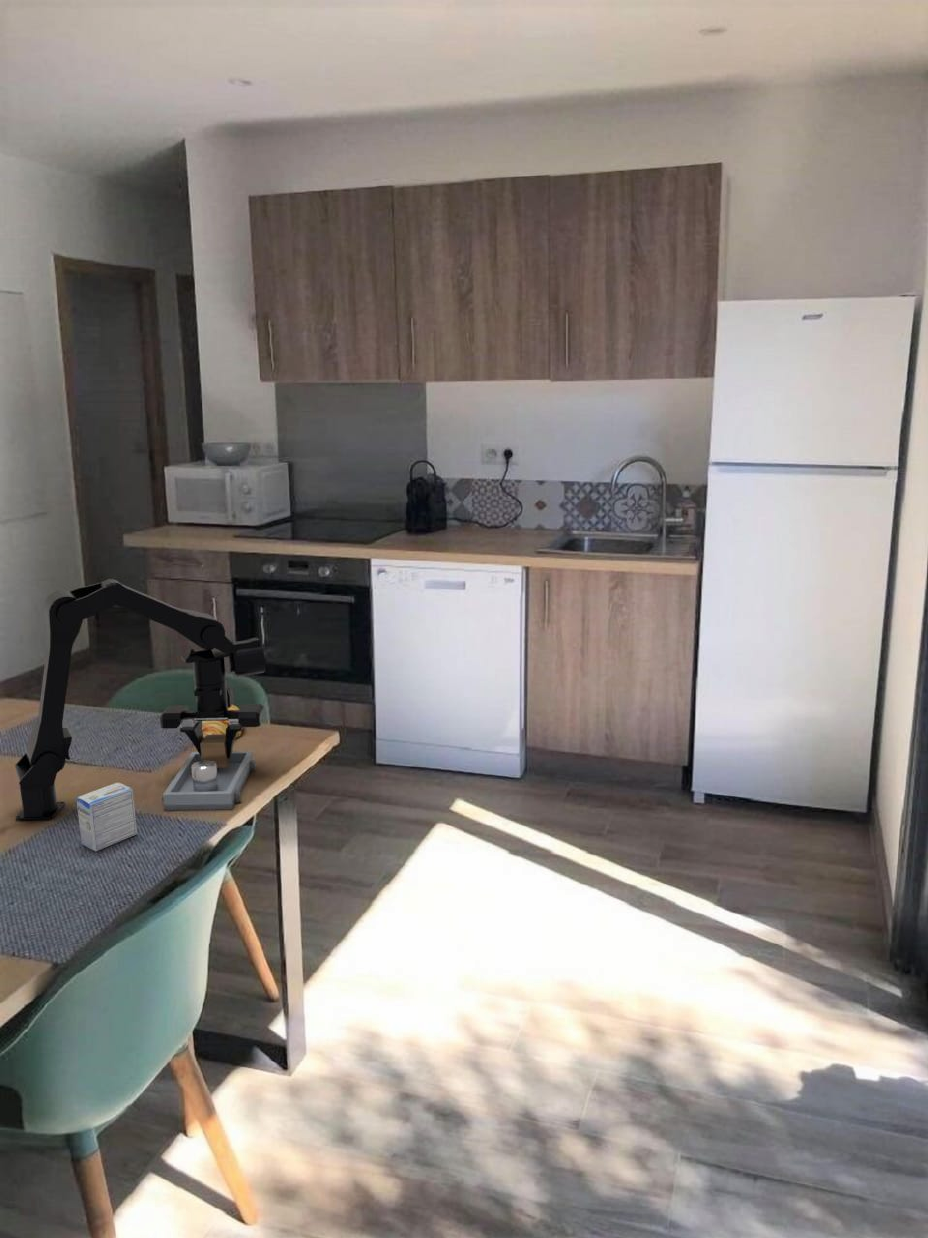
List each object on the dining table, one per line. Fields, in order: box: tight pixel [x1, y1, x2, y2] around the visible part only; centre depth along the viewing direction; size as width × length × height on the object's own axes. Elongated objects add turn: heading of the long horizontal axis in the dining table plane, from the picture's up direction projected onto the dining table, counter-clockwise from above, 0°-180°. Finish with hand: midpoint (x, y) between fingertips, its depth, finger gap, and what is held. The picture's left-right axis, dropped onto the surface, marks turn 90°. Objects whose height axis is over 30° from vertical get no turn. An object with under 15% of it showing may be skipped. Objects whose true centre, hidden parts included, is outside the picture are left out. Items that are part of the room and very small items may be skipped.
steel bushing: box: [191, 760, 218, 792], centre depth 182 cm, size 4×4×5 cm
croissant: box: [202, 704, 242, 738], centre depth 213 cm, size 21×10×8 cm, turn 1°
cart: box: [161, 750, 257, 811], centre depth 186 cm, size 20×14×3 cm
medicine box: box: [76, 782, 138, 852], centre depth 165 cm, size 8×4×9 cm, turn 141°
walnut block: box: [200, 734, 231, 768], centre depth 191 cm, size 4×4×5 cm
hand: (216, 758), depth 191 cm, fingers closed on walnut block, 4 cm apart
